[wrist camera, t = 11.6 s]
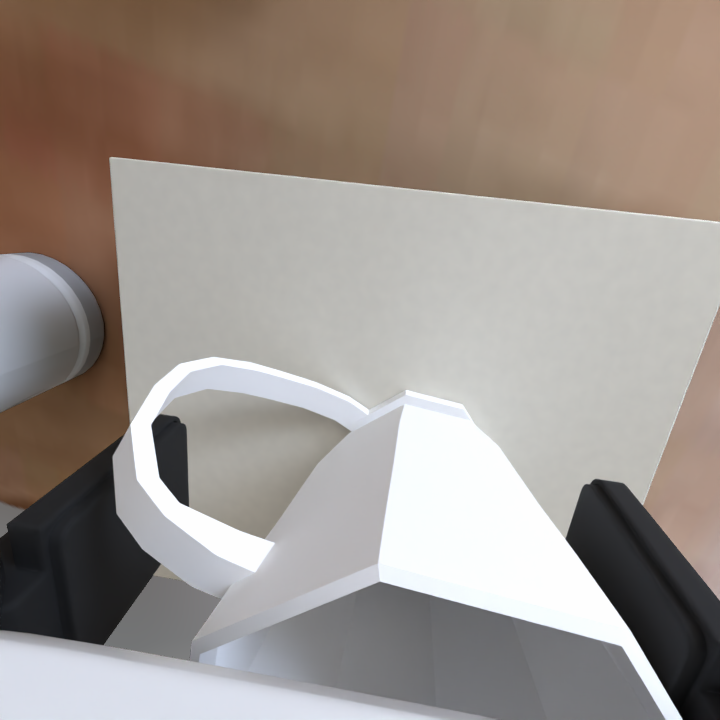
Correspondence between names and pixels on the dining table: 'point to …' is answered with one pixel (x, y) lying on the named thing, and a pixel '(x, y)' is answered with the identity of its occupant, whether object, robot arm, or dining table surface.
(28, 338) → the travel mug
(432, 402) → the cup
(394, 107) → the dining table surface
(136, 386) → the stand
